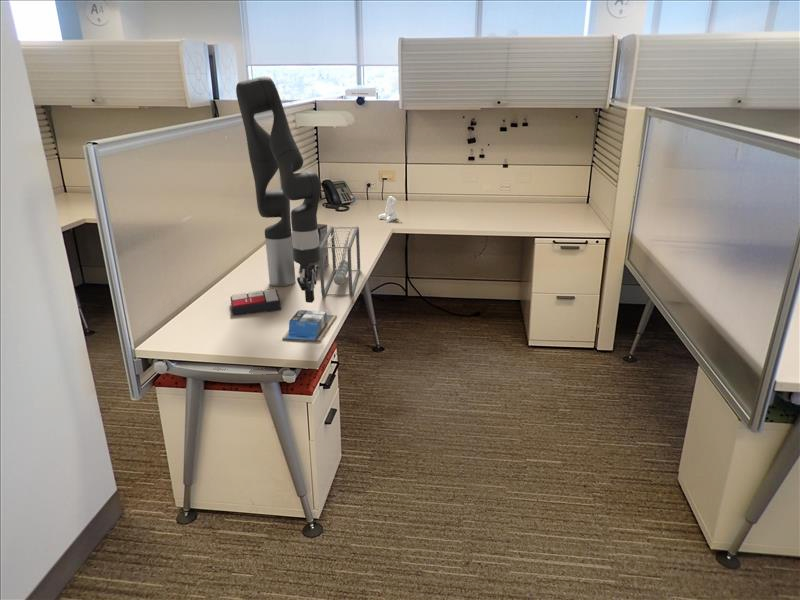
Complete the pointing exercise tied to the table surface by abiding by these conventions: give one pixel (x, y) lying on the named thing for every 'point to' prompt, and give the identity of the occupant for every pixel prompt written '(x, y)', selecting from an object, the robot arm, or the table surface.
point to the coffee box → (322, 233)
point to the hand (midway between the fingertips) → (310, 301)
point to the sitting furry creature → (389, 210)
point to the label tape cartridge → (307, 324)
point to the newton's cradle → (343, 265)
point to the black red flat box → (255, 302)
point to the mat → (329, 322)
